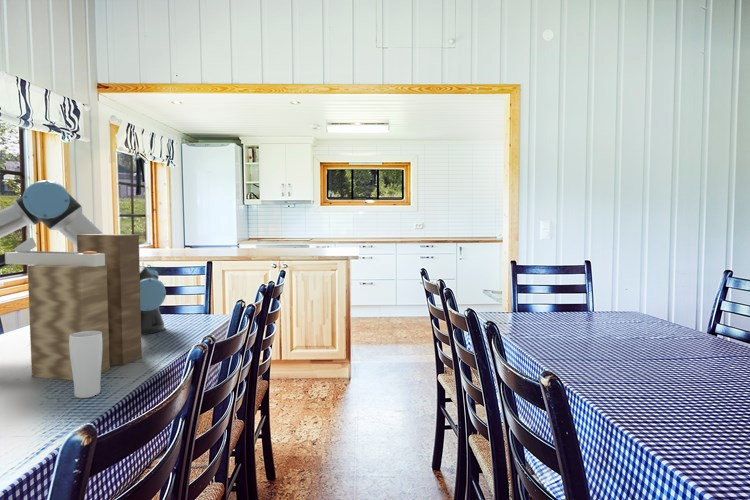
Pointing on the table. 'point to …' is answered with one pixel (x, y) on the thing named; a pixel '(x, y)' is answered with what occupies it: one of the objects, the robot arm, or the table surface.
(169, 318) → the table surface
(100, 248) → the stepped stand
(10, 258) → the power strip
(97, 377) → the drinking glass
